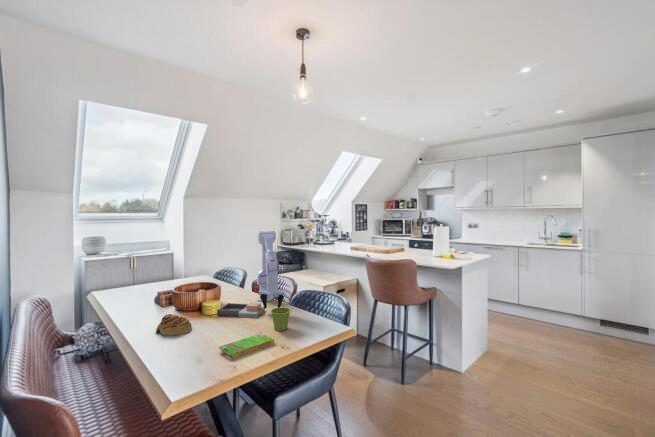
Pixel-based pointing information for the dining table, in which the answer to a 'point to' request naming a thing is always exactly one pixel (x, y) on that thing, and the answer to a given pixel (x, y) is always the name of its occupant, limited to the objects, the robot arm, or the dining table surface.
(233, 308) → the box
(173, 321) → the pastry
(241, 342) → the game box
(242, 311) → the slate plate
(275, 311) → the plant pot
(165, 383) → the dining table surface
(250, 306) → the block
